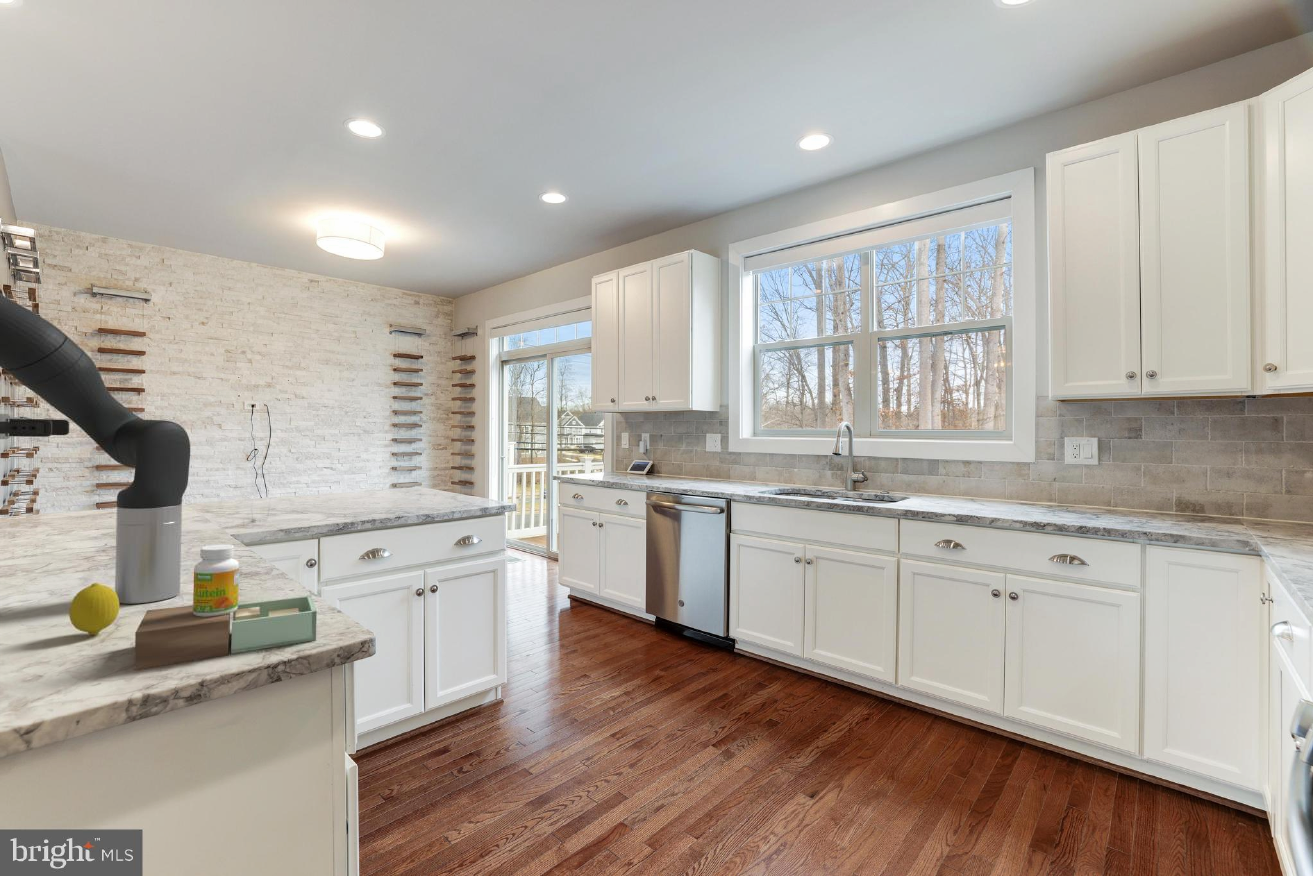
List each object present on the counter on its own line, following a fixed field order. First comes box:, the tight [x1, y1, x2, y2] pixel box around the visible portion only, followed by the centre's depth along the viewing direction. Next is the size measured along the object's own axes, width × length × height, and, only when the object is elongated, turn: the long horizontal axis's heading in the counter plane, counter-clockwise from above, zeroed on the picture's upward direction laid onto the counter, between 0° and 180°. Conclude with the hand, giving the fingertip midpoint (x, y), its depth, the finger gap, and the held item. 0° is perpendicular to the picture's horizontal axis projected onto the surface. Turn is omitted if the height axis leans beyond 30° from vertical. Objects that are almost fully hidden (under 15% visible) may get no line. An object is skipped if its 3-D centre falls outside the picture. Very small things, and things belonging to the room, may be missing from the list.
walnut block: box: [134, 604, 231, 670], centre depth 85 cm, size 11×10×5 cm
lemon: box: [68, 582, 120, 636], centre depth 90 cm, size 6×6×8 cm
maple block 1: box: [235, 607, 260, 621], centre depth 89 cm, size 4×4×3 cm
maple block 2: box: [268, 608, 299, 617], centre depth 92 cm, size 4×4×3 cm
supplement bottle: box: [192, 544, 240, 617], centre depth 87 cm, size 5×5×10 cm
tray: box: [230, 595, 317, 654], centre depth 91 cm, size 10×11×4 cm
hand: (60, 427), depth 79 cm, fingers open, 8 cm apart
